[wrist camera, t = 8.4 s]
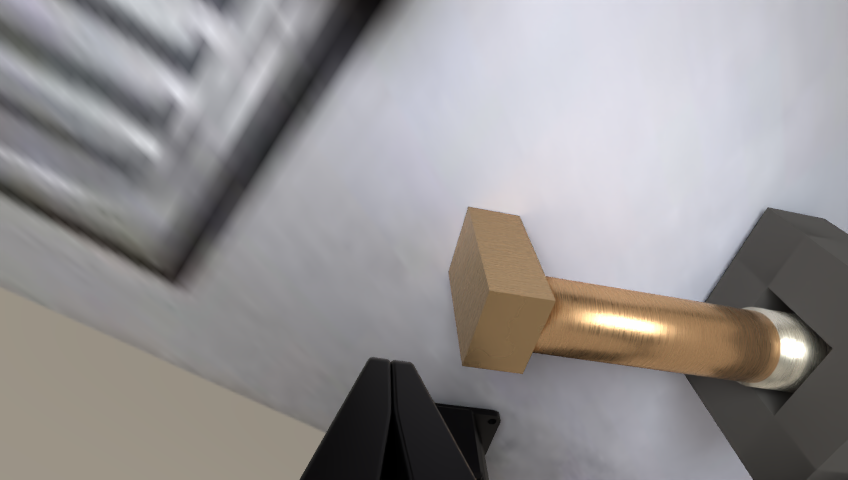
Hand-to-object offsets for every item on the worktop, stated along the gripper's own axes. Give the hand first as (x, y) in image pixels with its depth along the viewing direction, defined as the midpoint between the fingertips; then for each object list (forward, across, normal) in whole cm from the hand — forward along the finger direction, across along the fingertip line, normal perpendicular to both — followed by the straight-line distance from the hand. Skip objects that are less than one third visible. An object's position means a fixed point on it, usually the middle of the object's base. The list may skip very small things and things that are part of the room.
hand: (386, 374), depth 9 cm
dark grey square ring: (+12, -18, +4) cm, 23 cm away
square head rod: (+12, -14, +4) cm, 19 cm away
